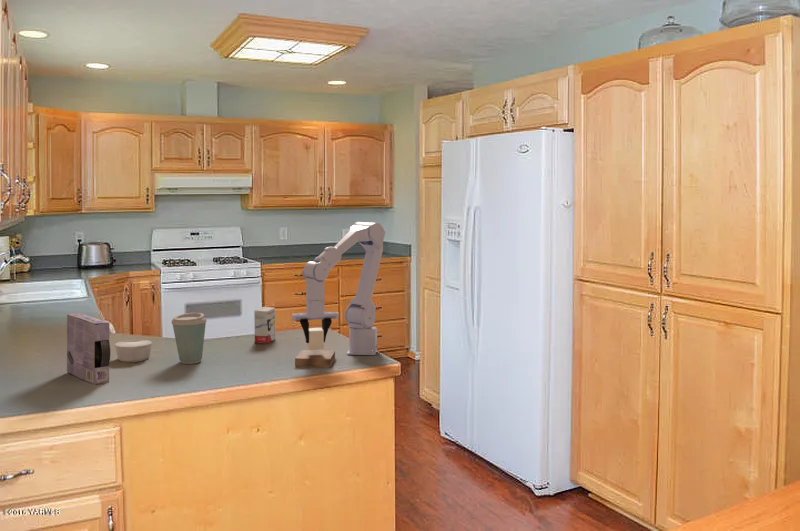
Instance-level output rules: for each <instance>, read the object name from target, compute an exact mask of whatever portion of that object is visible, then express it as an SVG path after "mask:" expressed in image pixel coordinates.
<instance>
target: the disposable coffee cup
mask: <svg viewBox="0 0 800 531" xmlns="http://www.w3.org/2000/svg"><path fill="white" fill-rule="evenodd" d="M205 316H206V315H205V314H204V313H202V312H186V313H181V314H178V315H175V316H174V317H172V319H171V325H172V329H173V334H174V339H175V344H176V345H175V346H176V348H177V354H178V359H179V361H180V363H181V364H182V365H183V364H184V365H191V364H192V365H193V364H197V363H200V362H201V361H202V360H203V352H204V343H205V333H206V323H207V318H206V317H205Z"/></svg>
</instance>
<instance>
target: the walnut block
mask: <svg viewBox="0 0 800 531" xmlns="http://www.w3.org/2000/svg"><path fill="white" fill-rule="evenodd" d="M334 359H336V351H335V350H309V349H307V350H304V349H302V350H300V351H299V353H298V354H297V355H296V357H294V364H295V365H294V367H302V368H303V367H306V368H331V366H332V365H333V363H334V361H335V360H334Z"/></svg>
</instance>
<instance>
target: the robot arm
mask: <svg viewBox="0 0 800 531" xmlns="http://www.w3.org/2000/svg"><path fill="white" fill-rule="evenodd" d="M385 234H386V231H385V229H384V227H383V225H382V224H381V223H379V222H365V221H356V222H355V223H354V224H353V225H352V226H350V227H349V231H348V232H347V233H346V234H345V235H344V236H343V237H342V238H341V239H340V240H339V241H338V243H336V244H335V245H334V246H328V247H325V248H324V249H323V251H322V252H321V253H320V254H319V255H318V256H316V257H315V258H314V260H313V261H307V263H306V264H305V265H304V266H303V269H302V271H301V274H302V276H303V278H304V279H305V280H304V281H305V282H304V283H305V285H306V288H305V292H306V293H305V297H306V298H305V299H306V302H305V305H306V307H305V308H306V312H299V313H292V314H291V320H292V321H293V322H297V321H298V322H299V323H300V326H301V328H302V331H303V334H304V338H305V343H306V344H307V343H309V328H310V323H309V320H311V321H312V320H315V321H316V320H321V328H322V329H323V330H324V343H326V339H327V335H328V331H329V329H330V327H331V325H332V323H333V322H332V320H334V319H335V320H339V318H340V316H339V314H340V313H339V312H338V311H325V308H326V307H325V305H326V304H325V302H326V301H325V299H326V297H325V294H326V293H325V281H326V279H328V277H329V273H330V271H331V270H332V269H333V268H334V267H335V266H336V265H337V264H338V263H339V262H340V261H341V260H342V255H343V254H344V253H345V252H347V251H348V250H349V249H350V248H352V247H354V245H355V244H357V243H359V245H361V246H362V248H363V249H364V250H365V255H364V260H363V264H362V268H361V272H360V276H359V281H358V286H357V289H356V293H355V296H354V297H353V298H352V299H351V300H350V301H349V302H348V306H347V308H346V309H345V312H344V320H345V321H346V323H347V326H348V327H349V329H348V330H349V332H348V334H349V336H348V337H349V338H348V340H349V343H348V345H349V346H348V347H349V348H348V350H347V351H346V355H351V356H352V355H353V356H354V355H355V356H376V353H377V351H378V328H377V327H376V326H373V325H374V324H375V322H376V319H377V315H376V309H377V305H376V304H375V303H374V301H373V295H374V290H375V288H376V282H377V278H378V272H379V269H380V265H381V260H382V256H383V252H384V238H385ZM372 350H373V351H372Z"/></svg>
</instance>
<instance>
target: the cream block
mask: <svg viewBox="0 0 800 531" xmlns="http://www.w3.org/2000/svg"><path fill="white" fill-rule="evenodd" d="M324 344H325V342H324V330H323V329H322V327H309V343H306V345H307V350H317V351H320V350H324V349H325V347H324V346H325V345H324Z"/></svg>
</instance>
